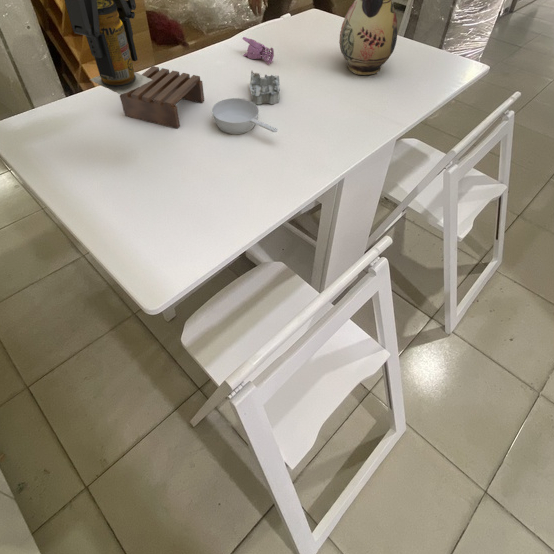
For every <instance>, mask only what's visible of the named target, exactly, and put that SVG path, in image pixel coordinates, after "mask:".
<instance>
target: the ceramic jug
mask: <svg viewBox="0 0 554 554" xmlns="http://www.w3.org/2000/svg"><path fill="white" fill-rule="evenodd" d="M397 40H398V19H397V14H396V9H395V7H394V4H393V0H354V1H353V3H352V4H351V6H350V7H349V8H348V11H347V12H346V15H345V16H344V19H343V22H342V25H341V27H340V33H339V41H338V43H339V48H340V52H341V54H342V56H343V58H344V59H345V61H346V66H347V69H348V70H349V71H350V72H352V73H354V74H355V75H357V76H358V75H359V76H360V75H361V76H362V75H363V76H365V75H366V76H367V75H375V74H378V73H379V72H380V71H381V67H382V66H383V65H384V64H385V63H387V61H388V60H389V59H390V57H391V56H392V54H393V53H394V50H395V48H396V45H397Z"/></svg>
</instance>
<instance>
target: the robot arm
mask: <svg viewBox="0 0 554 554" xmlns="http://www.w3.org/2000/svg"><path fill="white" fill-rule="evenodd" d="M112 1H114V2H115V4H116V6H117V11H118V14H119V19H120V20H121V21H122V23H123V25H124V29H125V33H126V38H127V42H128V45H129V50H130V54H131V58H132V62H137V61H138V60H139V59H138V54H137V49H136V46H135V40H134V32H133V27H132V23H131V20H132V19H135V16H136V14H135V12H134V11H135V10H136V8H137V4H136V0H112ZM64 4H65V7H66V11H67V14H68V18H69V22H70V25H71V28H72V31H73V33H74V34H76V35H81V36H85V37H86V40H87V44H88V47H89V51H90V54H91V55H92V57H93V58H94V57H95V58H94V61H95V60H96V61H95V64H96V63H97V64H96V68H97V67H98V68H97V71H98V70H99V71H98V74H99V73H100V74H101V75H106V76H110V77H114V76H116V75H115V71H114V67H113V64H112V60H111V56H110V53H109V49H108V45H107V42H106V38H105V34H102V33H100V28H99V17H98V7H97V0H64ZM90 25H91V26H92V27H91V26H90ZM100 74H99V75H100Z"/></svg>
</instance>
